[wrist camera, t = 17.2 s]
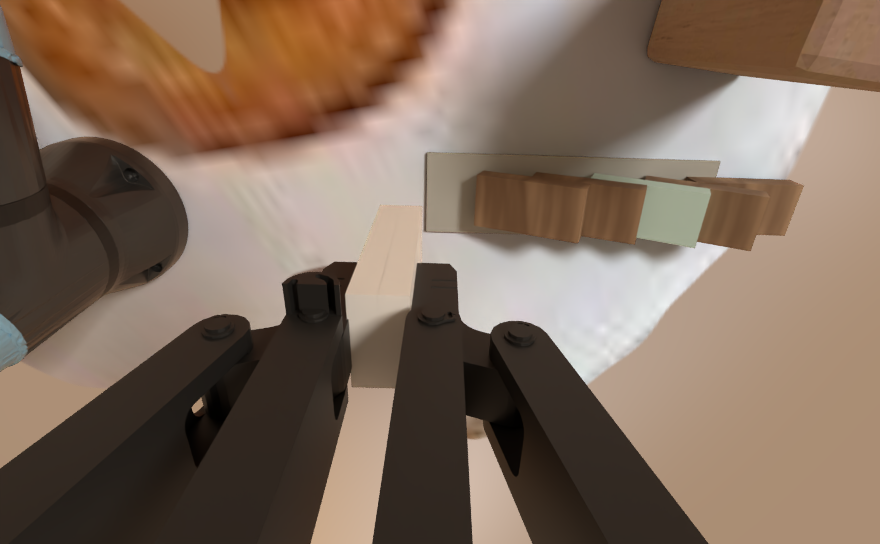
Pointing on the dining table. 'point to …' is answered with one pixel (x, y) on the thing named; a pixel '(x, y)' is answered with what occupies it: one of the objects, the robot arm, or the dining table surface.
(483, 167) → the runner
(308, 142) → the dining table surface
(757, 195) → the domino
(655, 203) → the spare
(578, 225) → the domino
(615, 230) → the domino
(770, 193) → the domino
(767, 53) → the block
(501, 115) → the dining table surface
